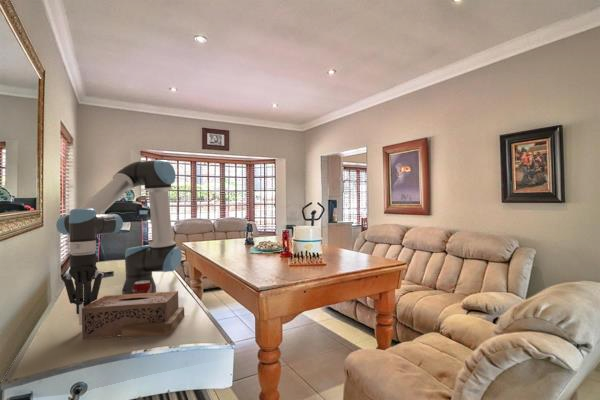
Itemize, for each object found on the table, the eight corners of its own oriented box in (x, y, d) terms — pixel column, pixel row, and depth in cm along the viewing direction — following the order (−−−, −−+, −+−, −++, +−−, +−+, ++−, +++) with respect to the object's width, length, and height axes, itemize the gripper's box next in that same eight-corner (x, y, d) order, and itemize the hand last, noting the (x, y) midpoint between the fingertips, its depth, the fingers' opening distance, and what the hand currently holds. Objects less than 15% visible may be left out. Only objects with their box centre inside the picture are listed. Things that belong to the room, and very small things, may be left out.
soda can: (144, 315, 119) (143, 284, 119) (129, 314, 120) (128, 283, 120) (155, 309, 125) (155, 279, 126) (141, 309, 127) (140, 279, 127)
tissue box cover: (82, 340, 98) (81, 308, 98) (104, 323, 112) (104, 295, 113) (167, 333, 101) (166, 302, 102) (178, 317, 116) (178, 291, 116)
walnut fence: (142, 319, 114) (142, 309, 114) (184, 316, 116) (184, 306, 116) (121, 338, 97) (121, 327, 97) (171, 334, 99) (171, 323, 99)
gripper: (55, 256, 101) (55, 328, 100) (97, 254, 103) (98, 325, 102) (69, 253, 109) (69, 320, 108) (108, 251, 110) (109, 318, 110)
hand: (83, 323), depth 105 cm, fingers closed
